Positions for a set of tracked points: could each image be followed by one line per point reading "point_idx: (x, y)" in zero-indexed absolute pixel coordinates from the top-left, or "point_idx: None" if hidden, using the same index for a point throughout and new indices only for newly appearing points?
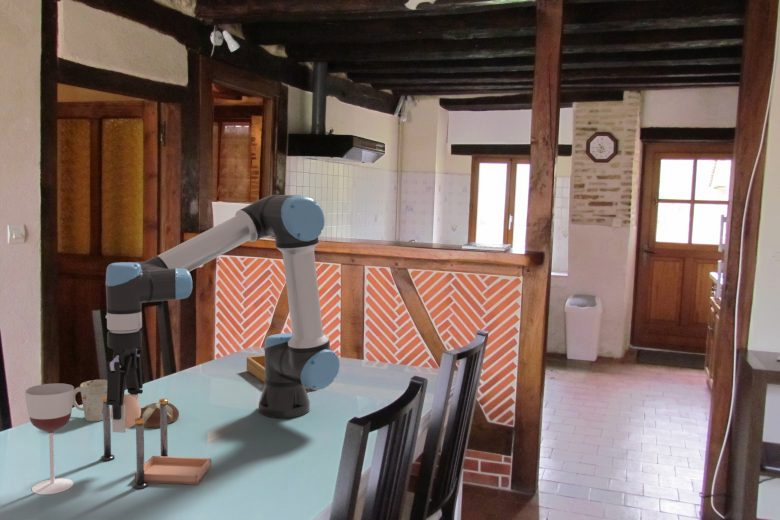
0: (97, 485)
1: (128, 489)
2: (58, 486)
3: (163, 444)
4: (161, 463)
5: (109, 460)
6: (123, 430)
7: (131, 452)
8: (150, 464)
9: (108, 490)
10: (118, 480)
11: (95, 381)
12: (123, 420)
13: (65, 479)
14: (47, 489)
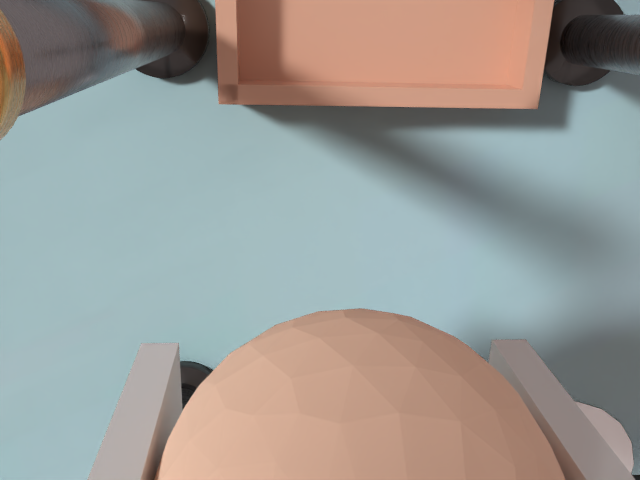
0: (547, 290)
1: (614, 99)
2: None
3: (163, 27)
4: (248, 18)
5: (211, 372)
6: (535, 358)
7: (59, 305)
8: (309, 82)
9: (616, 207)
10: (485, 208)
11: None
12: (589, 431)
13: None
14: None
